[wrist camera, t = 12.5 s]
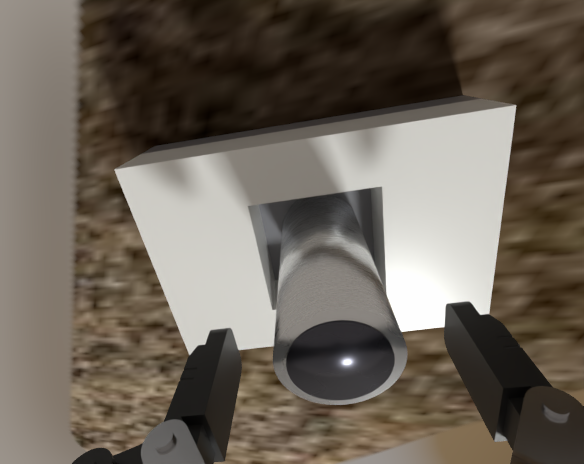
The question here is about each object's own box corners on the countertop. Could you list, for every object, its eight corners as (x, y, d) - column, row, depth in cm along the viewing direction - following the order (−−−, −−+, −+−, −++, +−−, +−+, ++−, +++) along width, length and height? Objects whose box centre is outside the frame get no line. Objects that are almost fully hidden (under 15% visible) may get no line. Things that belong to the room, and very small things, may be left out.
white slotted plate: (463, 95, 19) (516, 105, 14) (451, 273, 24) (487, 321, 20) (154, 146, 20) (114, 169, 16) (208, 304, 25) (189, 355, 21)
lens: (354, 187, 19) (408, 303, 10) (359, 255, 21) (408, 402, 12) (276, 199, 19) (260, 321, 10) (289, 264, 21) (284, 414, 12)
